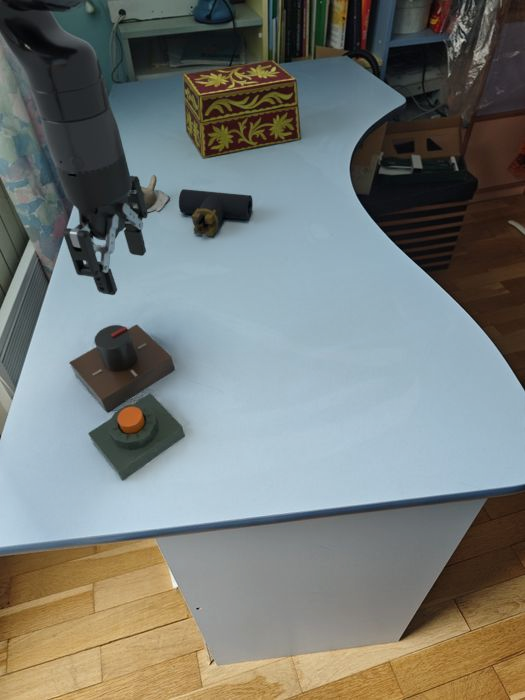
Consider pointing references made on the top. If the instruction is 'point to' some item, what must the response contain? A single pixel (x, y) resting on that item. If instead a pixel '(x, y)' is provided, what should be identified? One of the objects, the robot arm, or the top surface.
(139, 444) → the button box
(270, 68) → the decorative box
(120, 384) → the dial base block
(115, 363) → the dial knob
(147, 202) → the tan irregular piece
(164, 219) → the top surface
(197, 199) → the pipe connector
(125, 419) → the button
